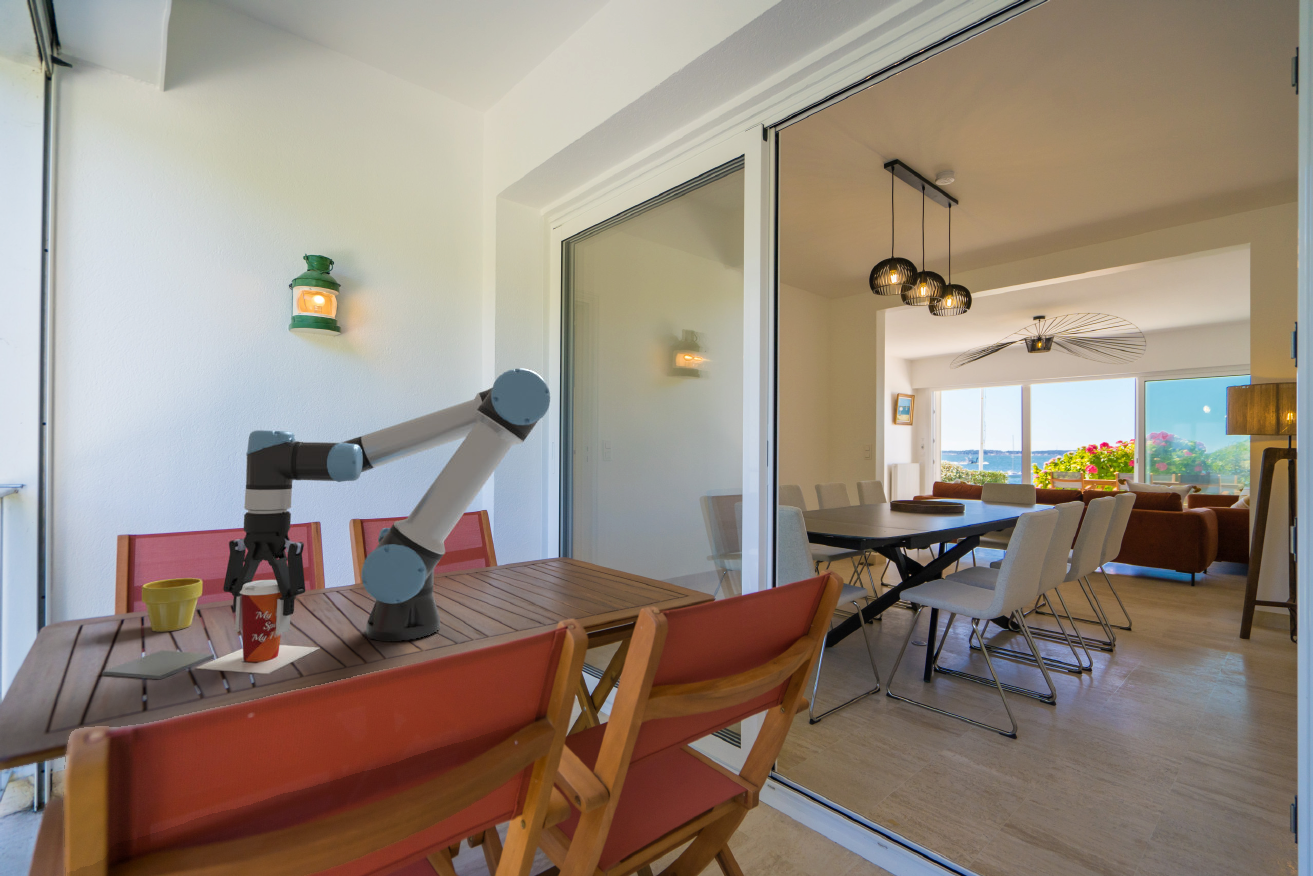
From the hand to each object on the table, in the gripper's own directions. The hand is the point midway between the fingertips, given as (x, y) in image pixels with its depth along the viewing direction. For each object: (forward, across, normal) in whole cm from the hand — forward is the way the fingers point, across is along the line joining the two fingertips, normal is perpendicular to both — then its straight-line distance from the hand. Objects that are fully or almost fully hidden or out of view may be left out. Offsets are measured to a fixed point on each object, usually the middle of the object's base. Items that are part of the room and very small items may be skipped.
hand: (262, 630), depth 115 cm
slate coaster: (+5, +14, +7) cm, 16 cm away
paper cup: (+5, 0, 0) cm, 5 cm away
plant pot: (+5, +32, -13) cm, 35 cm away
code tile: (+5, 0, 0) cm, 5 cm away
